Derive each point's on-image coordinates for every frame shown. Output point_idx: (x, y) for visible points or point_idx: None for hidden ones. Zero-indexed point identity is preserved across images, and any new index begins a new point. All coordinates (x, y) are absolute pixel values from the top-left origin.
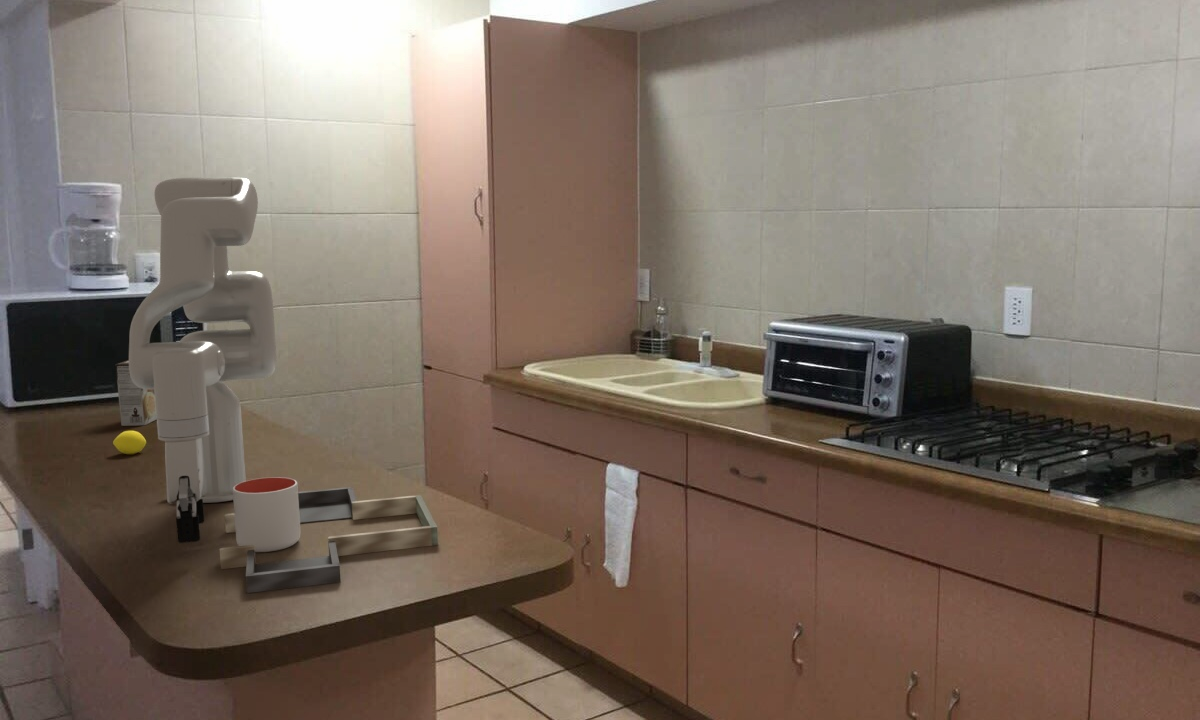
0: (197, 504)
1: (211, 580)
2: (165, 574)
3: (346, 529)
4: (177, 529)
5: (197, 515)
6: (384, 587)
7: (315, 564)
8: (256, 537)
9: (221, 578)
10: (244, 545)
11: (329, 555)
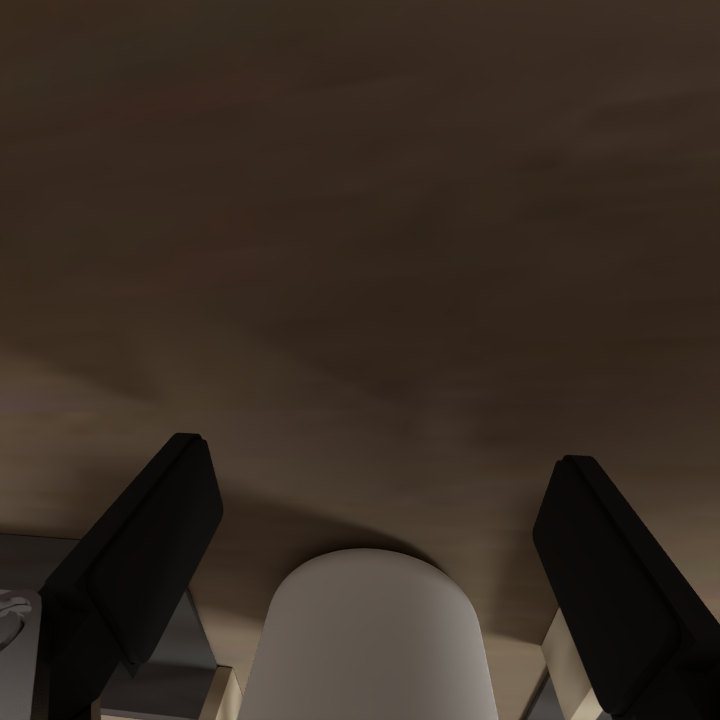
0: (601, 663)
1: (43, 462)
2: (101, 319)
3: None
4: (124, 495)
5: (129, 675)
6: None
7: (157, 647)
8: (261, 636)
9: (63, 486)
10: (296, 576)
11: (197, 676)
